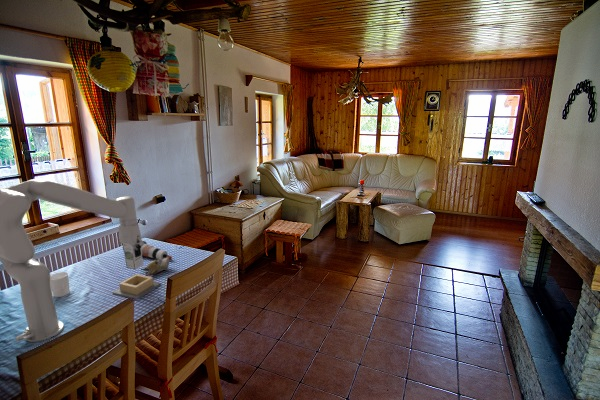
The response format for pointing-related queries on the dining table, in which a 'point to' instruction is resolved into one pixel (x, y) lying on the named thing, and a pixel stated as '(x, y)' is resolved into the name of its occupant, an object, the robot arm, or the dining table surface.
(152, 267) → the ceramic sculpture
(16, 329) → the dining table surface
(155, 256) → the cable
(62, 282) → the white cup
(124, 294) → the socket
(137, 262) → the syrup box
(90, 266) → the dining table surface
